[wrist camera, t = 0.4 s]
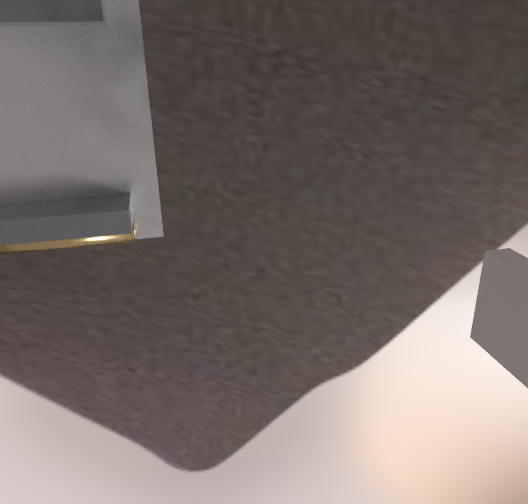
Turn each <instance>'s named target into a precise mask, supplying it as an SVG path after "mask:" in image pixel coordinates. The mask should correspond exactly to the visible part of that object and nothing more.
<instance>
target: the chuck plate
mask: <svg viewBox="0 0 528 504" xmlns="http://www.w3.org/2000/svg"><path fill="white" fill-rule="evenodd" d="M153 237H164V236H163V227H162V217H161V208H160V199H159V189H158V180H157V170H156V161H155V151H154V142H153V133H152V123H151V114H150V104H149V95H148V85H147V76H146V67H145V57H144V48H143V38H142V29H141V20H140V10H139V1H138V0H0V255H3V254H14V253H24V252H34V251H45V250H55V249H66V248H76V247H86V246H97V245H107V244H118V243H128V242H136V239H143V238H153Z"/></svg>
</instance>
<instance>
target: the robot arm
mask: <svg viewBox="0 0 528 504" xmlns="http://www.w3.org/2000/svg"><path fill="white" fill-rule="evenodd" d="M471 338H472V339H473V340H474V341H475V342H476V343H478V344H479V345H480V346H481V347H482V348H483V349H484V350H485V351H487V352H488V353H489V354H490V355H491V356H492V357H493V358H494V359H496V360H497V361H498V362H499V363H500V364H501V365H502V366H503V367H504V368H506V369H507V370H508V371H509V372H510V373H511V374H512V375H514V376H515V377H516V378H517V379H518V380H519V381H520V382H522V383H523V384H524V385H525V386H526V387H527V388H528V258H526V257H525V256H523V255H521V254H519V253H517V252H515V251H514V250H512V249H510V248H508V249H500V250H492V251H485V254H484V260H483V266H482V272H481V277H480V283H479V290H478V295H477V301H476V307H475V312H474V319H473V324H472V330H471Z"/></svg>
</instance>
